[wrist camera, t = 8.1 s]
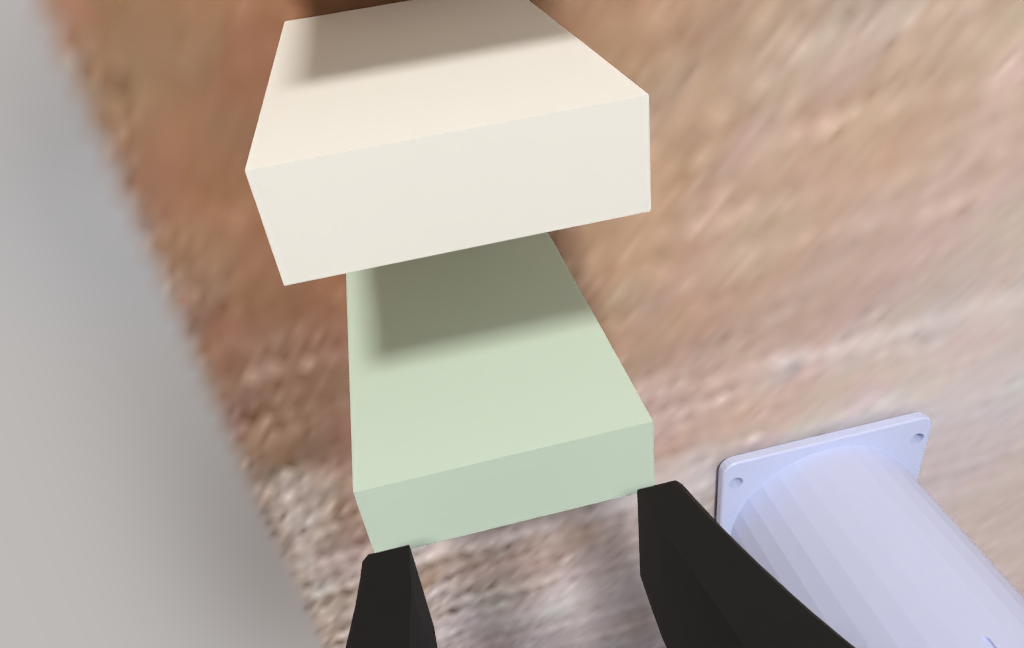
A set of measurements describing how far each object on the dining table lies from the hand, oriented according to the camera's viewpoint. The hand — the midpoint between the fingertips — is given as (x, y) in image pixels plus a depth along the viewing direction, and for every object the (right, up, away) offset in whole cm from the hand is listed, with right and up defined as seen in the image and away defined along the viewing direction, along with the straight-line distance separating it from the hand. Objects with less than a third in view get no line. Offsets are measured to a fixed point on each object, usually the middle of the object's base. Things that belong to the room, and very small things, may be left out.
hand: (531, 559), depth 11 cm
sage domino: (-2, +6, +9) cm, 10 cm away
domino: (-3, +10, +5) cm, 12 cm away
